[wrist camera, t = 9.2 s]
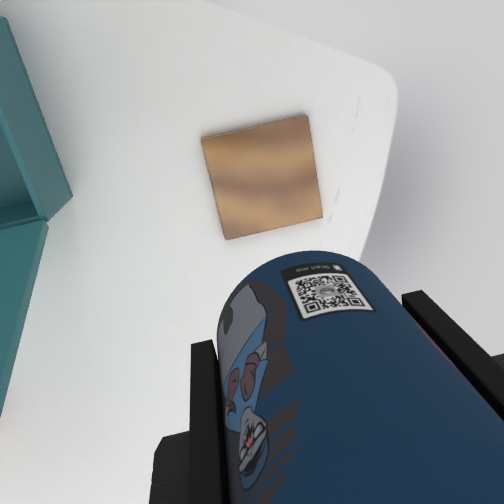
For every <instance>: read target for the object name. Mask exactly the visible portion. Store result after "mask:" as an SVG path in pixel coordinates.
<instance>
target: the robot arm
mask: <svg viewBox="0 0 504 504" xmlns="http://www.w3.org/2000/svg"><path fill="white" fill-rule="evenodd" d="M402 306H403V307H404V308H405V309H406V311H407V312H408V313H409V314H410V315H411V316H412V317H413V318H414V320H415V321H416V322H417V323H418V324H419V325H420V326H421V328H422V329H423V330H424V331H425V332H426V333H427V334H428V336H429V337H430V338H431V339H432V340H433V341H434V342H435V344H436V345H437V346H438V347H439V348H440V349H441V350H442V352H443V353H444V354H445V355H446V356H447V357H448V358H449V360H450V361H451V362H452V363H453V364H454V365H455V366H456V368H457V369H458V370H459V371H460V372H461V373H462V374H463V376H464V377H465V378H466V379H467V380H468V381H469V382H470V384H471V385H472V386H473V387H474V388H475V389H476V390H477V392H478V393H479V394H480V395H481V396H482V397H483V398H484V400H485V401H486V402H487V403H488V404H489V405H490V406H491V408H492V409H493V410H494V411H495V412H496V413H497V414H498V416H499V417H500V418H501V419H502V420H503V421H504V354H501V355H496V356H492V357H491V356H490V355H489V354H487V352H486V351H484V350H483V349H482V348H481V347H480V346H479V345H478V344H477V343H476V342H475V341H474V340H473V339H472V338H471V337H470V336H469V335H468V334H467V333H466V332H465V331H464V330H463V329H462V328H461V327H459V325H457V323H455V322H454V321H453V320H452V319H451V318H450V317H449V316H448V315H447V314H446V313H445V312H444V311H443V310H442V309H441V308H440V307H439V306H438V305H437V304H436V303H434V301H433V300H432V299H430V298H429V297H428V295H426V294H425V293H424V292H423V291H422V290H419V291H415V292H410V293H406V294H402ZM151 482H152V484H151V489H150V499H149V504H230V503H229V490H228V478H227V465H226V452H225V439H224V427H223V414H222V401H221V388H220V376H219V363H218V359H217V355H216V352H215V348H214V345H213V341H212V339H211V340H207V341H202V342H198V343H194V344H191V376H190V428H189V431H186V432H182V433H178V434H174V435H170V436H166V437H163V438H162V440H161V442H160V443H159V445H158V447H157V449H156V451H155V453H154V462H153V471H152V480H151Z"/></svg>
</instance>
